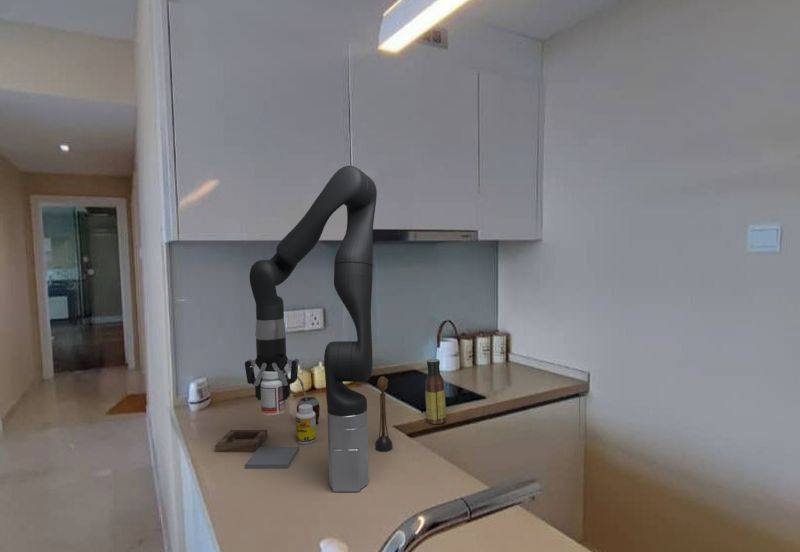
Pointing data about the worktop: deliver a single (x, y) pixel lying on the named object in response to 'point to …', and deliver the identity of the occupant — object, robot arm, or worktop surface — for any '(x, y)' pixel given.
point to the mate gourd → (309, 402)
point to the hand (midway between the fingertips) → (273, 398)
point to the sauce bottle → (435, 394)
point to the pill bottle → (272, 394)
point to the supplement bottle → (305, 424)
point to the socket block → (230, 446)
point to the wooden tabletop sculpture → (383, 419)
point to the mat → (272, 457)
